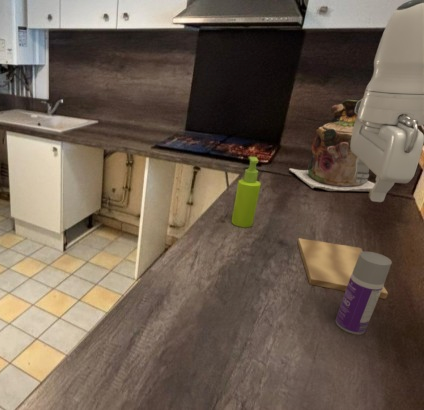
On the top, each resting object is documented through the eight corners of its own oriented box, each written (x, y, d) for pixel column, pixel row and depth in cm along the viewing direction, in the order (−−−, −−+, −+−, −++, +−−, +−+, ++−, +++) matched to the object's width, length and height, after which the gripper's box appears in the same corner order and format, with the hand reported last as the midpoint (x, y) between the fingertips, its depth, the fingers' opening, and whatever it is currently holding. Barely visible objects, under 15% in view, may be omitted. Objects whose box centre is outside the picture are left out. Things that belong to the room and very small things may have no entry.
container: (329, 320, 69) (352, 253, 63) (346, 314, 70) (370, 249, 64) (353, 337, 65) (380, 267, 59) (371, 330, 66) (399, 262, 60)
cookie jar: (347, 172, 151) (371, 94, 138) (386, 194, 128) (419, 102, 116) (286, 171, 153) (304, 93, 140) (313, 192, 131) (338, 101, 118)
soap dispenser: (250, 218, 111) (263, 155, 103) (253, 228, 104) (267, 162, 96) (230, 216, 112) (241, 154, 104) (232, 226, 106) (244, 161, 98)
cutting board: (359, 252, 92) (360, 247, 91) (385, 299, 75) (388, 293, 74) (297, 242, 97) (298, 238, 96) (309, 284, 80) (311, 278, 79)
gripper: (450, 123, 47) (412, 217, 53) (395, 103, 65) (371, 175, 70) (392, 120, 50) (361, 210, 55) (354, 101, 67) (333, 171, 73)
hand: (366, 190), depth 63 cm, fingers open, 8 cm apart
